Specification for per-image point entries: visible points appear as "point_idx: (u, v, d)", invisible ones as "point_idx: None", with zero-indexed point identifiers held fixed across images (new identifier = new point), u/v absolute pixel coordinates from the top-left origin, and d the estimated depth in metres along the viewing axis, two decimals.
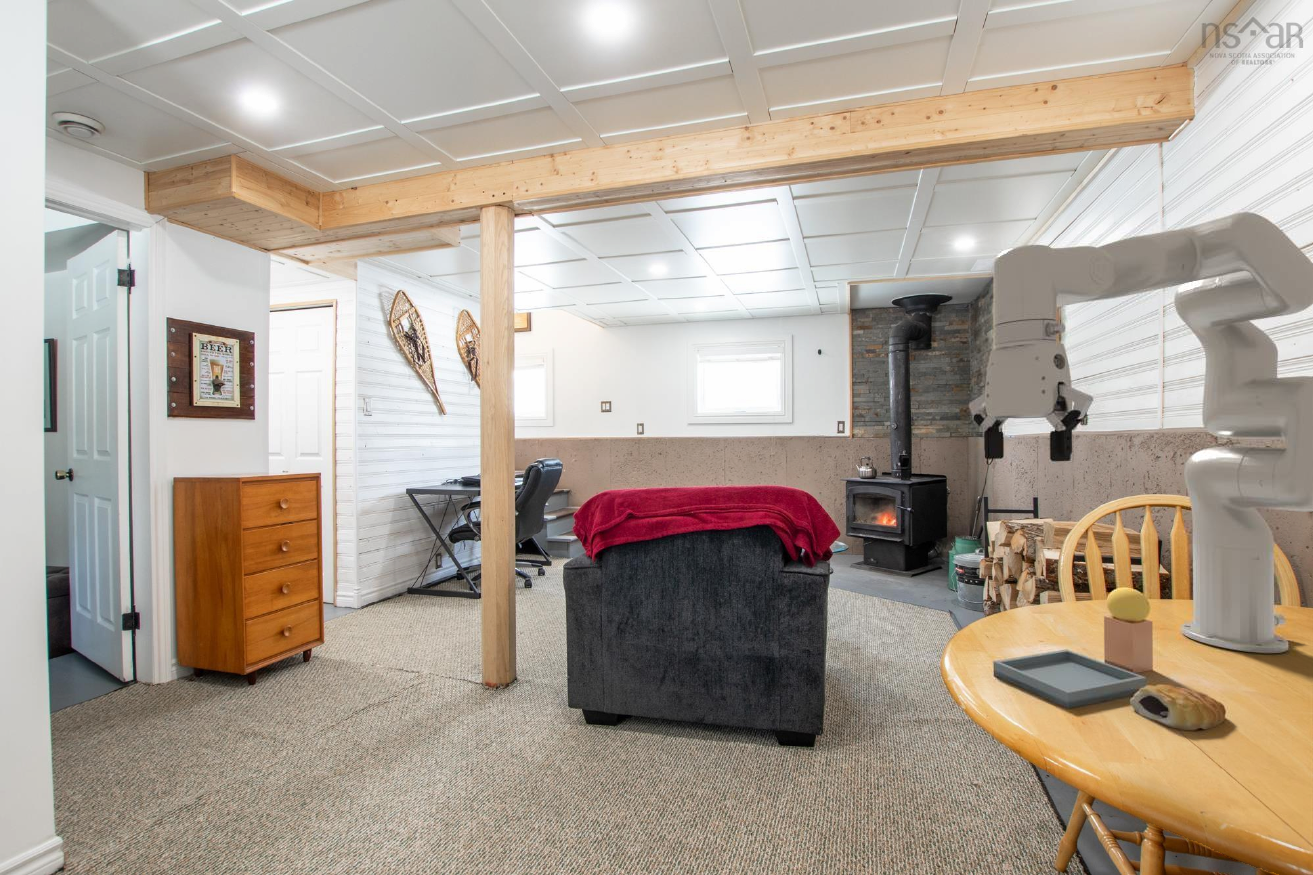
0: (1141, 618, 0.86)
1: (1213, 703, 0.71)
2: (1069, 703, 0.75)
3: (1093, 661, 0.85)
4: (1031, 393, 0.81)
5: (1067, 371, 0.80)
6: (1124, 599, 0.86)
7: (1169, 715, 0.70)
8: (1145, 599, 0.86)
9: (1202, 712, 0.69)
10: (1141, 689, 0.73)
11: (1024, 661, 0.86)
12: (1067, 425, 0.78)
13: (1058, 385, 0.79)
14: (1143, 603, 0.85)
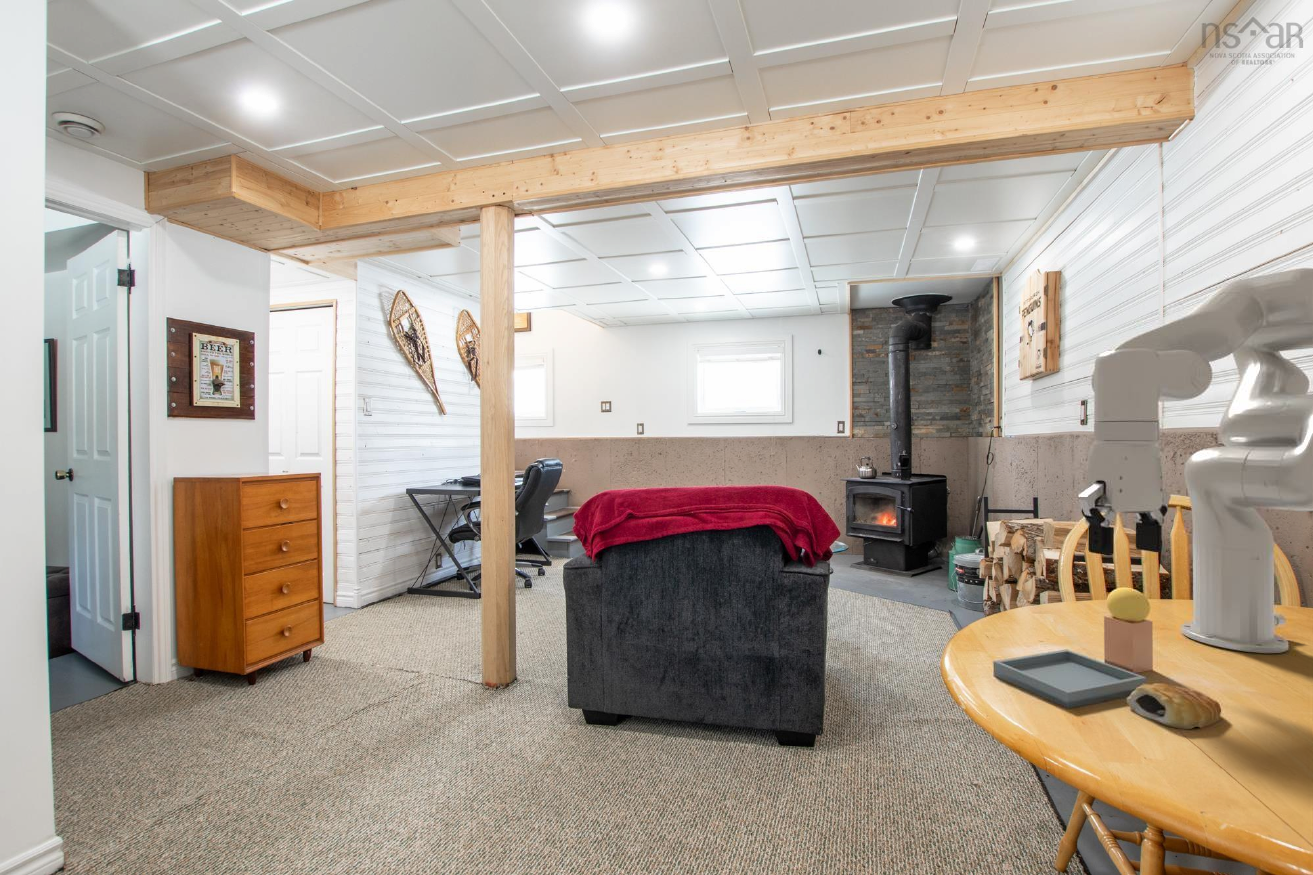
0: (1141, 618, 0.86)
1: (1209, 701, 0.71)
2: (1069, 703, 0.75)
3: (1093, 661, 0.85)
4: (1154, 490, 0.86)
5: None
6: (1124, 599, 0.86)
7: (1166, 714, 0.70)
8: (1145, 599, 0.86)
9: (1198, 711, 0.70)
10: (1138, 688, 0.73)
11: (1024, 661, 0.86)
12: None
13: None
14: (1143, 603, 0.85)
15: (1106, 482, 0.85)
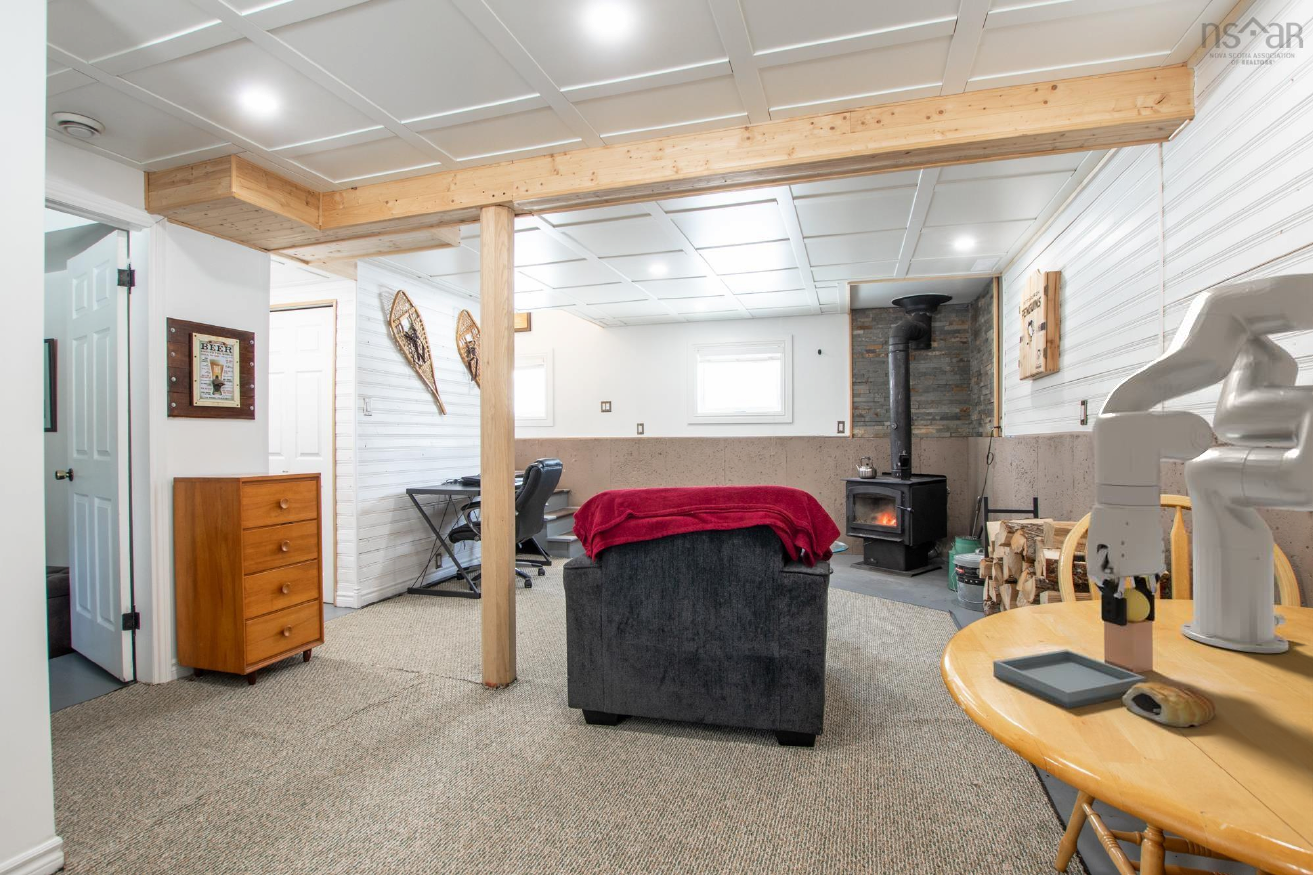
0: (1141, 618, 0.86)
1: (1203, 699, 0.72)
2: (1069, 703, 0.75)
3: (1093, 661, 0.85)
4: (1156, 553, 0.86)
5: None
6: None
7: (1162, 712, 0.70)
8: (1145, 599, 0.86)
9: (1194, 709, 0.70)
10: (1133, 687, 0.74)
11: (1024, 661, 0.86)
12: None
13: None
14: (1143, 603, 0.85)
15: (1108, 546, 0.85)
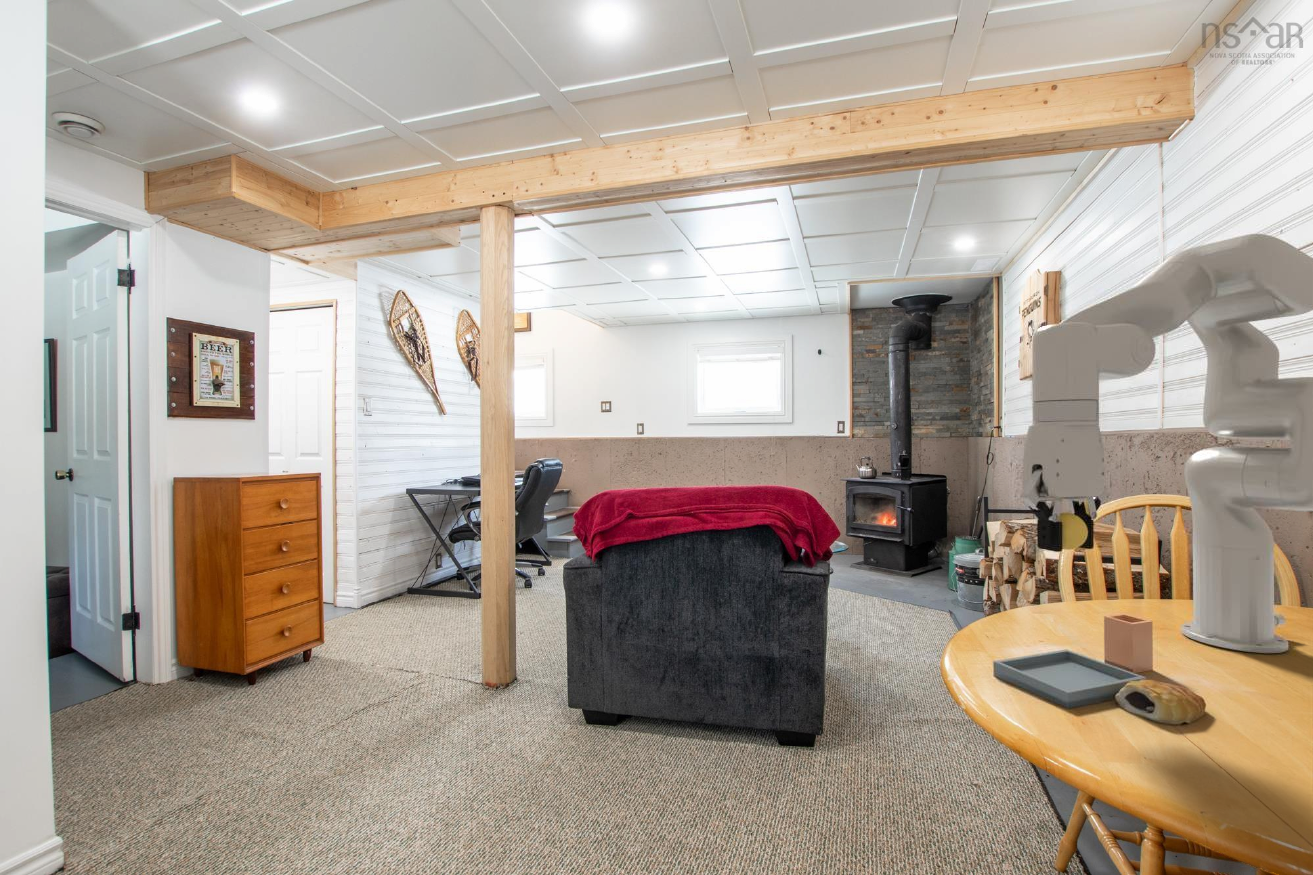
0: (1078, 543, 0.80)
1: (1194, 697, 0.73)
2: (1069, 703, 0.75)
3: (1093, 661, 0.85)
4: (1095, 474, 0.81)
5: None
6: None
7: (1155, 710, 0.71)
8: (1082, 523, 0.80)
9: (1186, 707, 0.71)
10: (1127, 685, 0.74)
11: (1024, 661, 0.86)
12: None
13: None
14: (1080, 526, 0.80)
15: (1042, 466, 0.80)
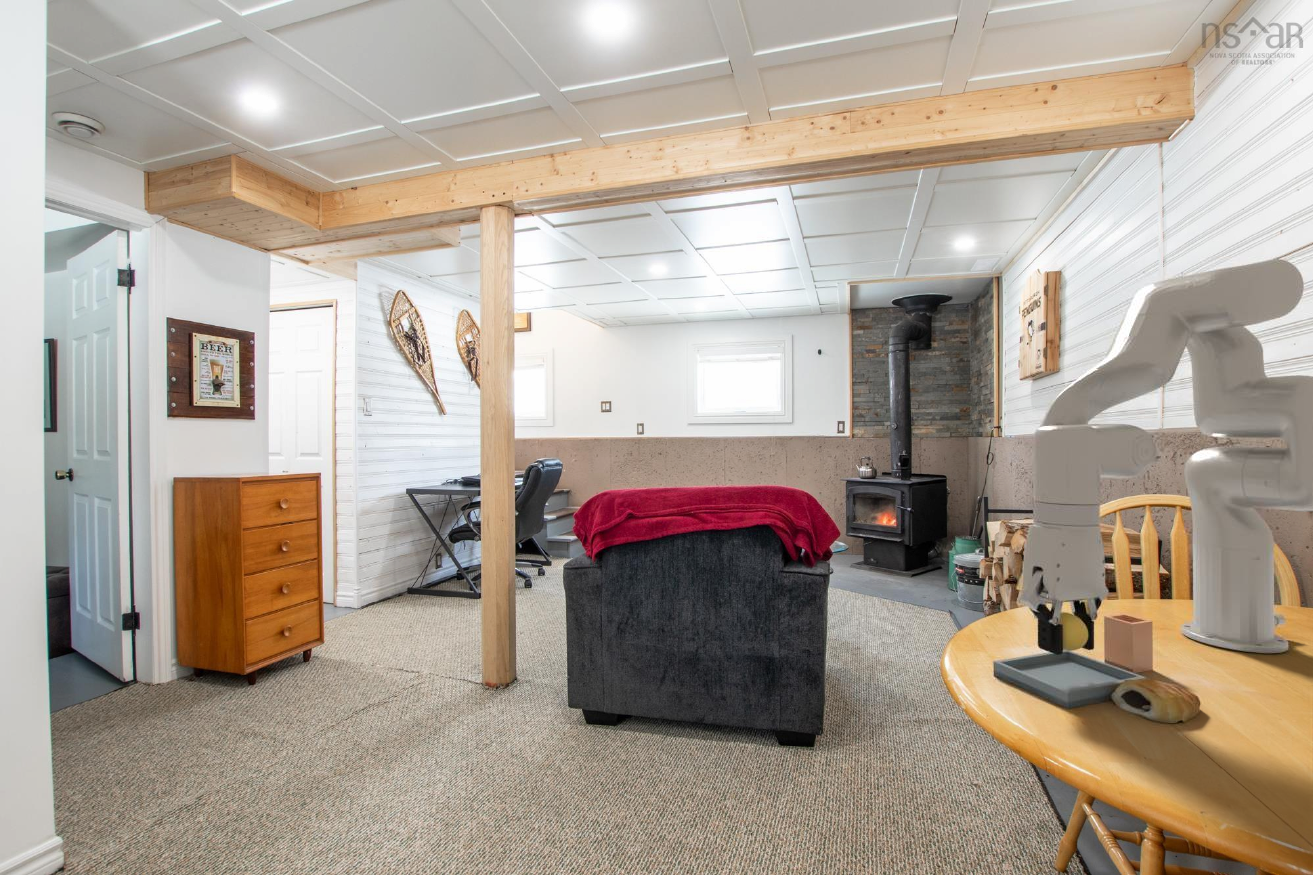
0: (1078, 646, 0.80)
1: (1189, 695, 0.73)
2: (1069, 703, 0.75)
3: (1093, 661, 0.85)
4: (1095, 576, 0.81)
5: None
6: None
7: (1152, 709, 0.71)
8: (1082, 626, 0.80)
9: (1182, 705, 0.71)
10: (1123, 684, 0.75)
11: (1024, 661, 0.86)
12: None
13: None
14: (1080, 629, 0.80)
15: (1043, 569, 0.80)
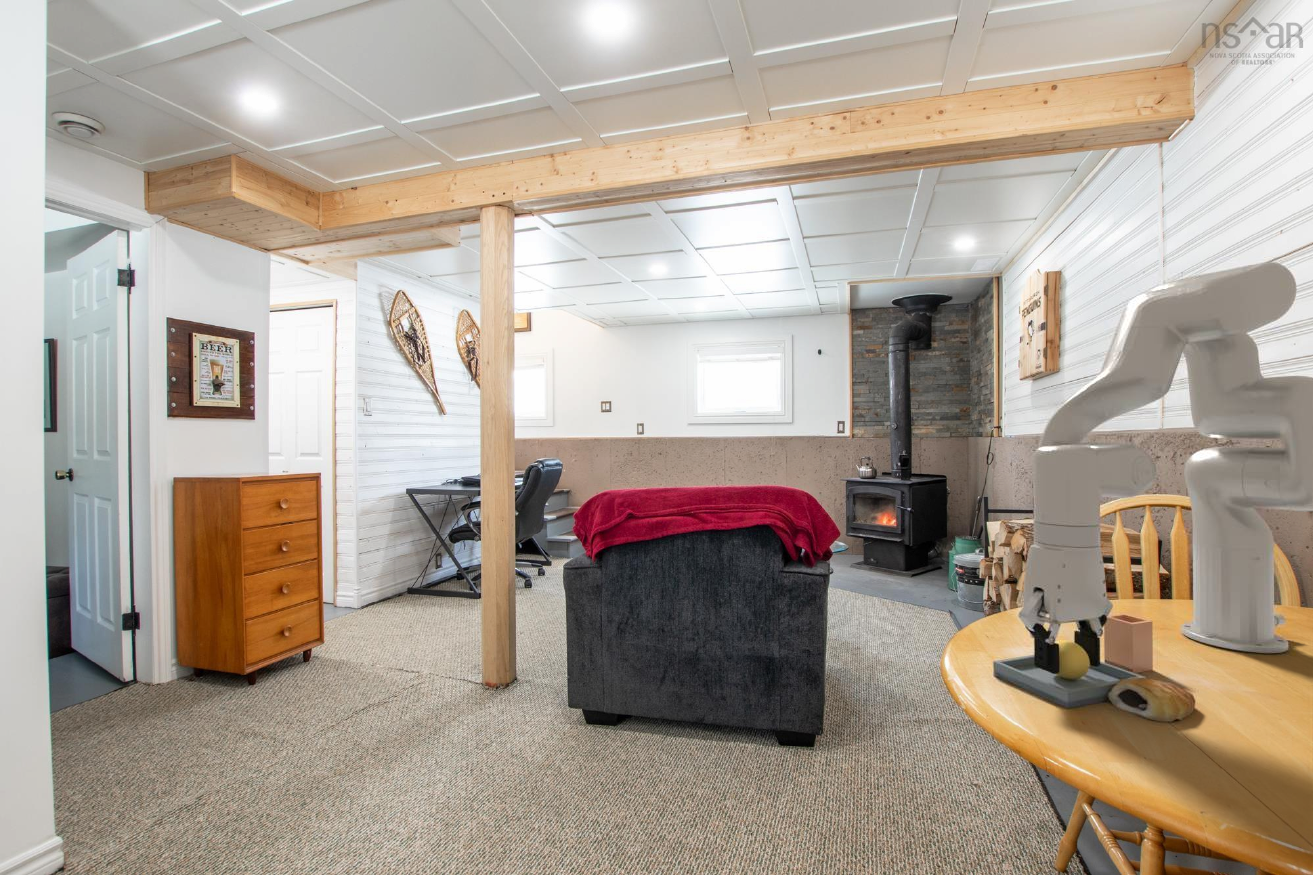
0: (1080, 675, 0.80)
1: (1185, 693, 0.73)
2: (1069, 703, 0.75)
3: None
4: (1096, 597, 0.81)
5: None
6: (1062, 654, 0.81)
7: (1148, 708, 0.72)
8: (1084, 655, 0.80)
9: (1178, 704, 0.71)
10: (1119, 683, 0.75)
11: (1024, 661, 0.86)
12: None
13: None
14: (1081, 659, 0.80)
15: (1044, 590, 0.80)
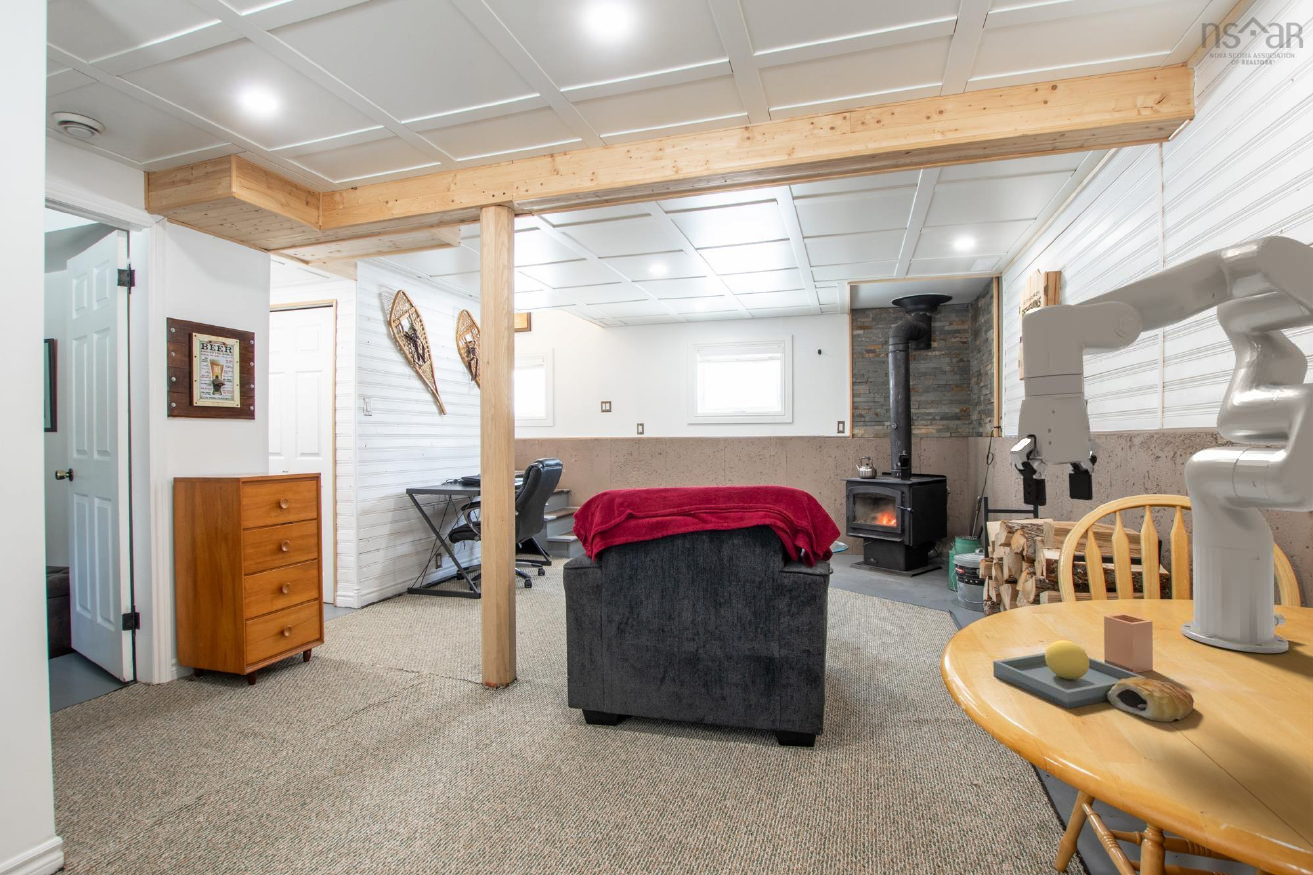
0: (1080, 675, 0.80)
1: (1183, 693, 0.73)
2: (1069, 703, 0.75)
3: (1093, 661, 0.85)
4: (1082, 441, 0.89)
5: None
6: (1061, 654, 0.81)
7: (1148, 708, 0.72)
8: (1083, 655, 0.80)
9: (1177, 704, 0.71)
10: (1118, 683, 0.75)
11: (1024, 661, 0.86)
12: None
13: None
14: (1081, 659, 0.80)
15: (1036, 435, 0.88)
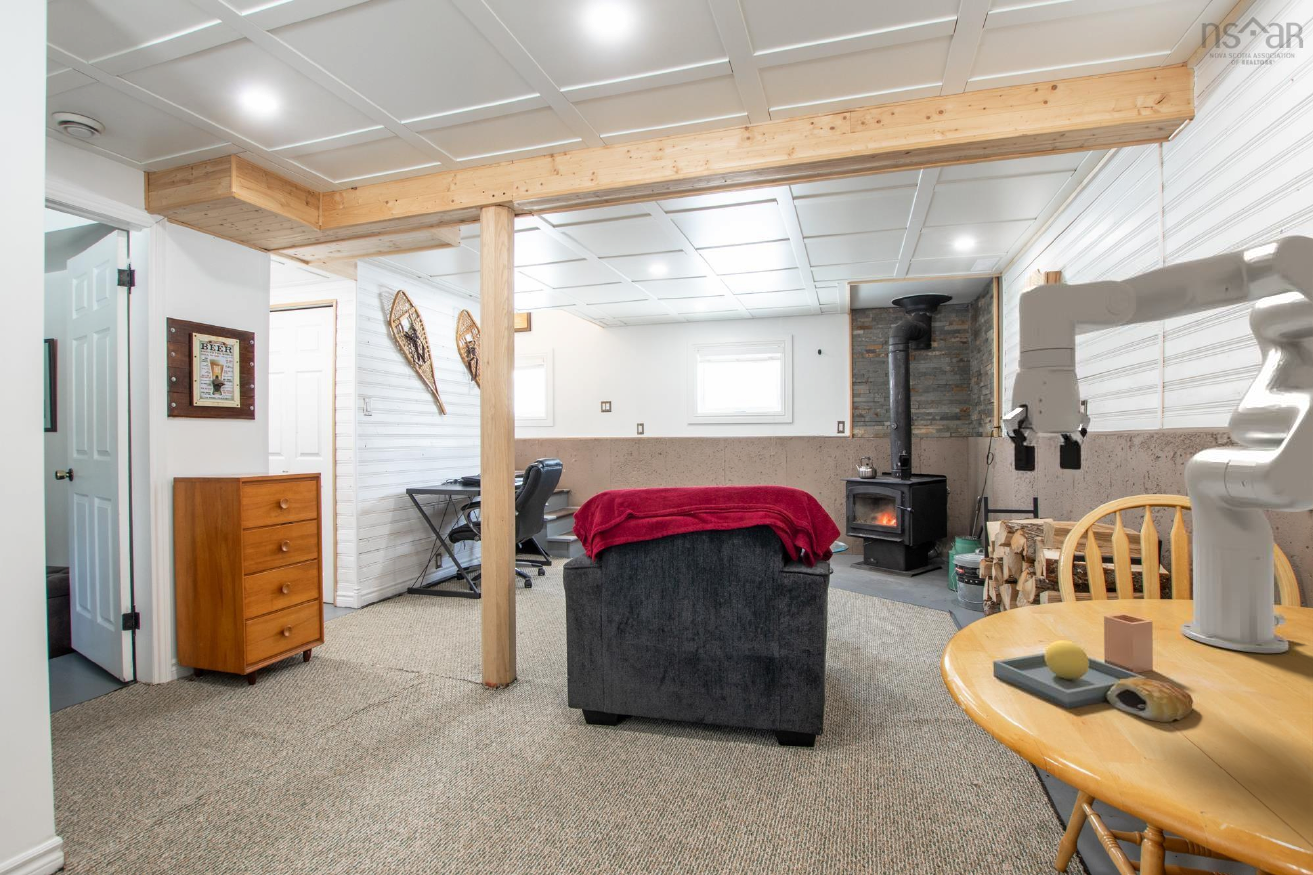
0: (1079, 675, 0.80)
1: (1183, 693, 0.73)
2: (1069, 703, 0.75)
3: (1093, 661, 0.85)
4: (1072, 412, 0.95)
5: None
6: (1060, 655, 0.81)
7: (1147, 708, 0.72)
8: (1082, 655, 0.80)
9: (1176, 704, 0.71)
10: (1118, 683, 0.75)
11: (1024, 661, 0.86)
12: None
13: None
14: (1080, 659, 0.80)
15: (1028, 405, 0.94)
